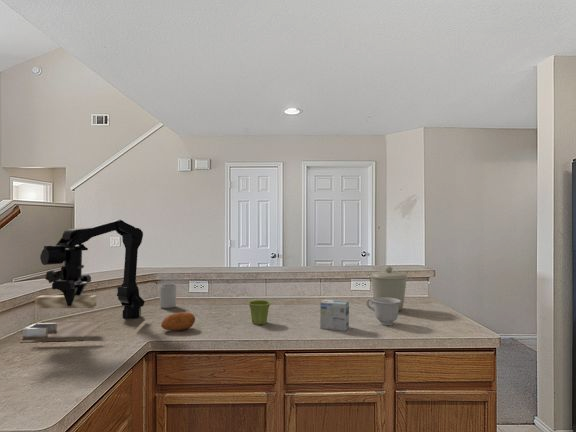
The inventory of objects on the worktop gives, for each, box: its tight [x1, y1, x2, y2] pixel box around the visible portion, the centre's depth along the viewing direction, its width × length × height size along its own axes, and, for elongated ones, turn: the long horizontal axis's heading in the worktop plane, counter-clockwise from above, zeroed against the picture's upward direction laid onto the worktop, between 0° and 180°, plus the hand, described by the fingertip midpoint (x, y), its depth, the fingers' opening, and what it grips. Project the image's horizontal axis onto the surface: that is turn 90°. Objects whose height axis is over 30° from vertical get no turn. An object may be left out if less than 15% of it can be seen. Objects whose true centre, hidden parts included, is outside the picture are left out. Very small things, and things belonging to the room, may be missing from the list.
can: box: [159, 282, 177, 310], centre depth 192 cm, size 8×8×12 cm
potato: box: [160, 311, 196, 331], centre depth 152 cm, size 7×13×7 cm, turn 112°
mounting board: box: [19, 321, 105, 344], centre depth 147 cm, size 21×21×2 cm
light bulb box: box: [319, 299, 350, 332], centre depth 157 cm, size 11×7×11 cm, turn 71°
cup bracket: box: [22, 322, 58, 339], centre depth 140 cm, size 8×8×3 cm
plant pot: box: [248, 299, 271, 326], centre depth 163 cm, size 9×9×9 cm
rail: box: [34, 294, 98, 309], centre depth 144 cm, size 20×4×4 cm, turn 95°
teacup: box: [365, 297, 401, 326], centre depth 164 cm, size 12×15×10 cm
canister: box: [369, 265, 409, 312], centre depth 190 cm, size 18×18×21 cm
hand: (72, 304), depth 144 cm, fingers closed on rail, 4 cm apart
